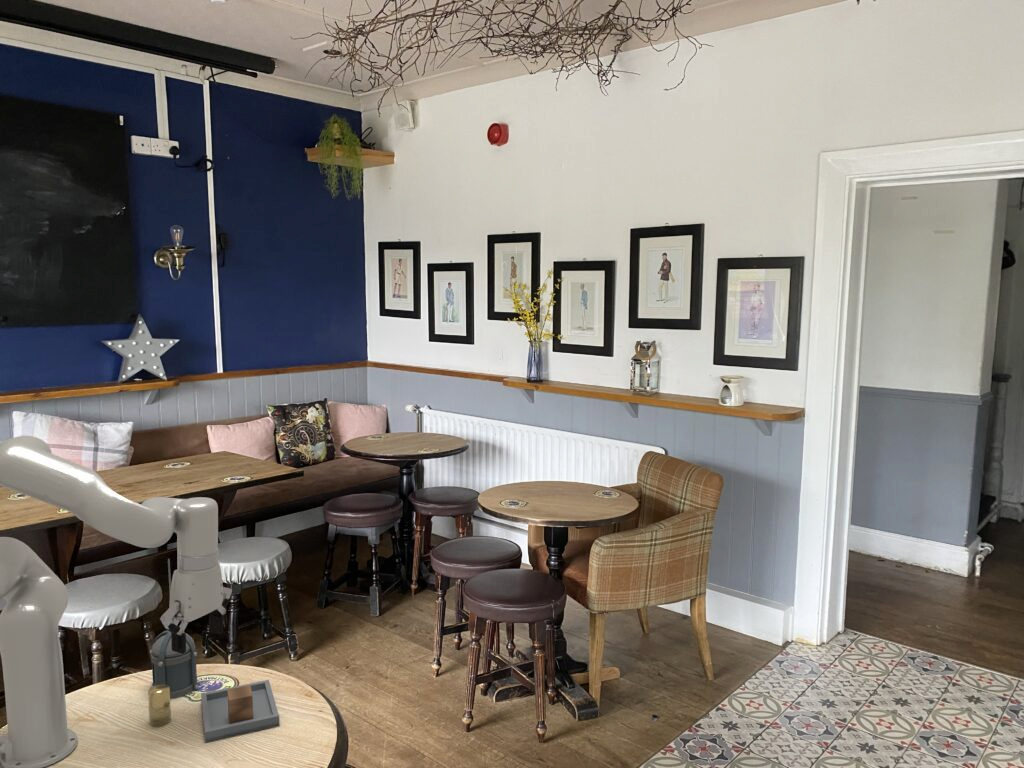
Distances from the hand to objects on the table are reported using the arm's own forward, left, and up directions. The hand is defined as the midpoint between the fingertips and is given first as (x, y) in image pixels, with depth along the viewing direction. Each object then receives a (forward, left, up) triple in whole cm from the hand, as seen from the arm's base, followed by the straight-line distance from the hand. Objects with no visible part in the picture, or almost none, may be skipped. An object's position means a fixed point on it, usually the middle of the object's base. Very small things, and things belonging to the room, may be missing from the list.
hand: (198, 641), depth 152 cm
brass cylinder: (-8, +4, -18) cm, 20 cm away
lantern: (-5, +17, -18) cm, 25 cm away
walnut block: (+7, -4, -17) cm, 19 cm away
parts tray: (+7, 0, -18) cm, 19 cm away
